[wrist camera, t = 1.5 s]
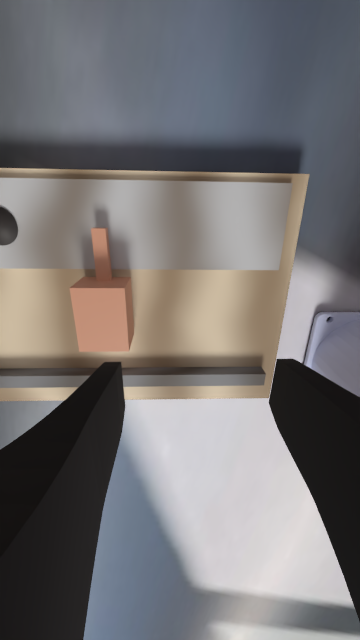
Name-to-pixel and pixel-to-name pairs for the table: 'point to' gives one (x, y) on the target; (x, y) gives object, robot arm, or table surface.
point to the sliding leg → (103, 304)
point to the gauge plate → (148, 278)
